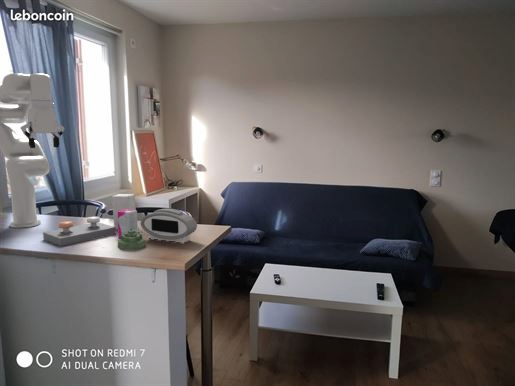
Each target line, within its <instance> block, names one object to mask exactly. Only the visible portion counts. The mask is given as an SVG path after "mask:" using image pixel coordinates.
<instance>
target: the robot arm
mask: <svg viewBox="0 0 515 386" xmlns="http://www.w3.org/2000/svg"><path fill="white" fill-rule="evenodd" d="M1 83H2V84H1V85H0V102H1V103H2V104H0V151H1V152H2V154H3V155H4V157H5V158H6V159H7V160H6V164H5V168H6V173H7V175H8V180H9V185H10V199H11V208H12V211H11V212H12V222H10V223H9V227H11V228H15V229H22V228H25V229H26V228H32V227H35V226H40V225H41V223H42V222H41V220H40V219H38V217H37V202H36V192H35V185H34V184H33V183H32V181H31V180H30V179H29V178H32V177H42V176H43V177H44V176H46V175H48V174H49V173H50V170H51V166H50V162H49V159H48V158H47V156H46V154H45V152H44V150H43V148H42V145H41V144H40V142H39V141H37V140H36V139H35V135H36V134H51V135H52V136H53V138H52V140H53V148H60V138H61V136H63V134H64V131H65V127H64V126H63V125H61V124H59V123H57V122H58V121H57V116H56V113H55V110H54V108H53V107H56V103H55V102H53V101H52V86H51V77H50V76H49V75H48V74H45V73H30V74H28V73H19V72H18V73H17V72H14V73H13V72H12V73H9V74H6V75H5V76H4V77H3V79H2V82H1ZM26 121H27V123H25V122H26ZM23 123H25V124H23ZM6 124H23V125H22V126H20V130H21V131H22V132H23V133H22V134H23V135H24V136H25V137H26V138H20V137H19V136H18V135H17V133H16V131H15V130H13V129H12V128H11V127H10V126H8V125H6ZM27 130H28V131H27Z"/></svg>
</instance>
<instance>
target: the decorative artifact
mask: <svg viewBox="0 0 515 386" xmlns="http://www.w3.org/2000/svg"><path fill="white" fill-rule="evenodd" d="M117 246H118V247H119V249H120V250H125V249H132V250H138V248H139V249H143V248H144V247H145V246H146V239H145V237H143V234H142V233H140V232H138V233H137V232H135V231H132V229H131V231H128V233H125V234H123V235H121V239H119V238H118V239H117Z"/></svg>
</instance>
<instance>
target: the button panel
mask: <svg viewBox="0 0 515 386" xmlns="http://www.w3.org/2000/svg"><path fill="white" fill-rule="evenodd" d="M69 231H70V233H68V234H63V228H58V229H53V230H50V231H44V232H43V233H42V236H43V240H44V241H47V242H49V243H51V244H55V245H57V246H60V247H63V246H66V245H67V246H68V245H73V244H77V243H81V242H86V241H89V240H93V239H99V238H103V237H107V236H108V237H109V236H112V235H117V230H116V227H114V225H110V224H105V223H102V222H97V228H93V229H91V223H87V224H81V225H75V226H73V227H70V228H69Z"/></svg>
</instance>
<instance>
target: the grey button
mask: <svg viewBox="0 0 515 386" xmlns="http://www.w3.org/2000/svg"><path fill="white" fill-rule="evenodd" d="M97 222H99V223H101V217H100V216H88V217H86V223H87V224H91V229H93V228H97Z"/></svg>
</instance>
